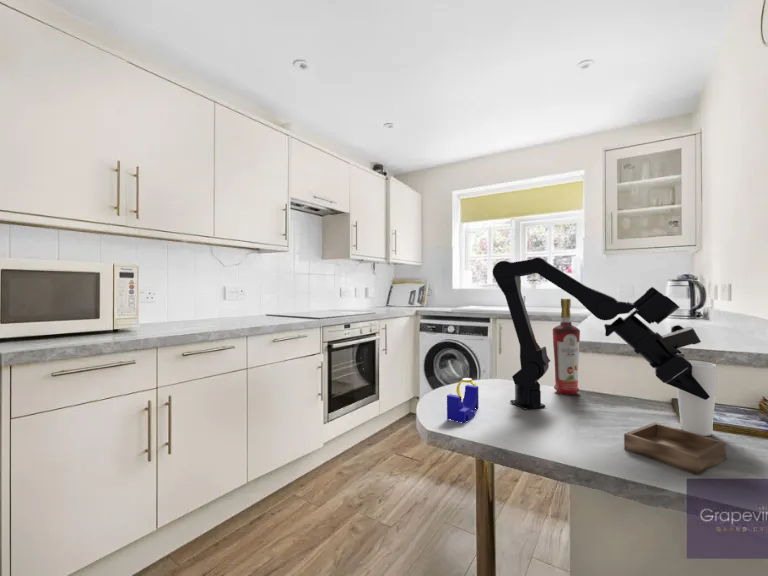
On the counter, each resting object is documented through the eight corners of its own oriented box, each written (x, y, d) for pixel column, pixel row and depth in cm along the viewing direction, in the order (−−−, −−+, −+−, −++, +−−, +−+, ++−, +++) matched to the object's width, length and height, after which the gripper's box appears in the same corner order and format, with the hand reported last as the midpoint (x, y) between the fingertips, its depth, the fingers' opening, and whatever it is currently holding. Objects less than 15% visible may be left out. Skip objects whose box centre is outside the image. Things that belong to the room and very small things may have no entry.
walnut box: (624, 448, 71) (624, 433, 71) (654, 436, 77) (654, 422, 77) (697, 475, 61) (697, 457, 61) (726, 458, 67) (726, 442, 67)
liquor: (574, 389, 112) (574, 298, 112) (584, 397, 105) (584, 299, 105) (549, 389, 113) (548, 298, 113) (557, 396, 106) (557, 299, 106)
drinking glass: (724, 440, 75) (723, 367, 75) (684, 436, 77) (683, 365, 77) (707, 428, 81) (706, 360, 81) (670, 424, 84) (670, 359, 84)
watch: (456, 400, 104) (454, 379, 104) (459, 398, 106) (458, 377, 106) (476, 402, 101) (475, 380, 101) (479, 399, 103) (478, 378, 103)
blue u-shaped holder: (464, 424, 85) (464, 398, 85) (447, 420, 88) (446, 395, 88) (484, 410, 95) (483, 387, 95) (467, 407, 98) (467, 384, 98)
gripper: (676, 317, 74) (753, 379, 68) (667, 311, 89) (729, 361, 83) (629, 352, 78) (697, 413, 72) (629, 341, 94) (685, 390, 88)
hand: (703, 392), depth 79 cm, fingers open, 9 cm apart
